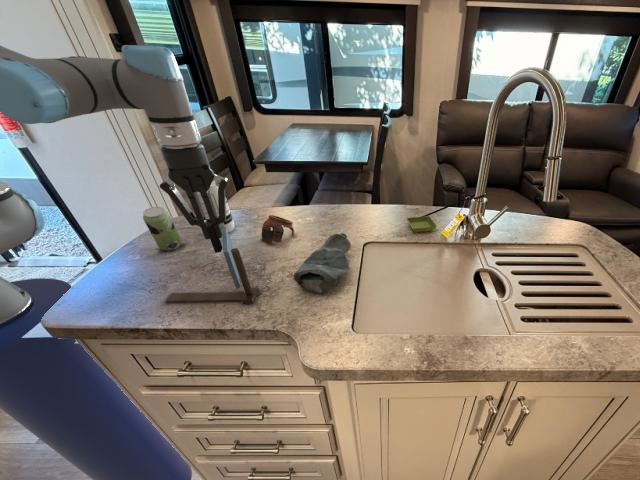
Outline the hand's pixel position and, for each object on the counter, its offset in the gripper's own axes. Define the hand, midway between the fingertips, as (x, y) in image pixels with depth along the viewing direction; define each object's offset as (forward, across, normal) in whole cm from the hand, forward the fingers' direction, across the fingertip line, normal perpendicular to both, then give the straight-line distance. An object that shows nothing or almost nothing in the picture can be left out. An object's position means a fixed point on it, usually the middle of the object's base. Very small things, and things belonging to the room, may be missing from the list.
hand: (218, 249), depth 78 cm
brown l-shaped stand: (+8, -3, -8) cm, 12 cm away
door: (+6, +2, -2) cm, 7 cm away
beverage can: (+9, -17, +22) cm, 29 cm away
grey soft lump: (+8, +26, -3) cm, 27 cm away
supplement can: (+9, -4, +31) cm, 32 cm away
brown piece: (+8, +13, +19) cm, 24 cm away
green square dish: (+8, +60, +15) cm, 62 cm away
